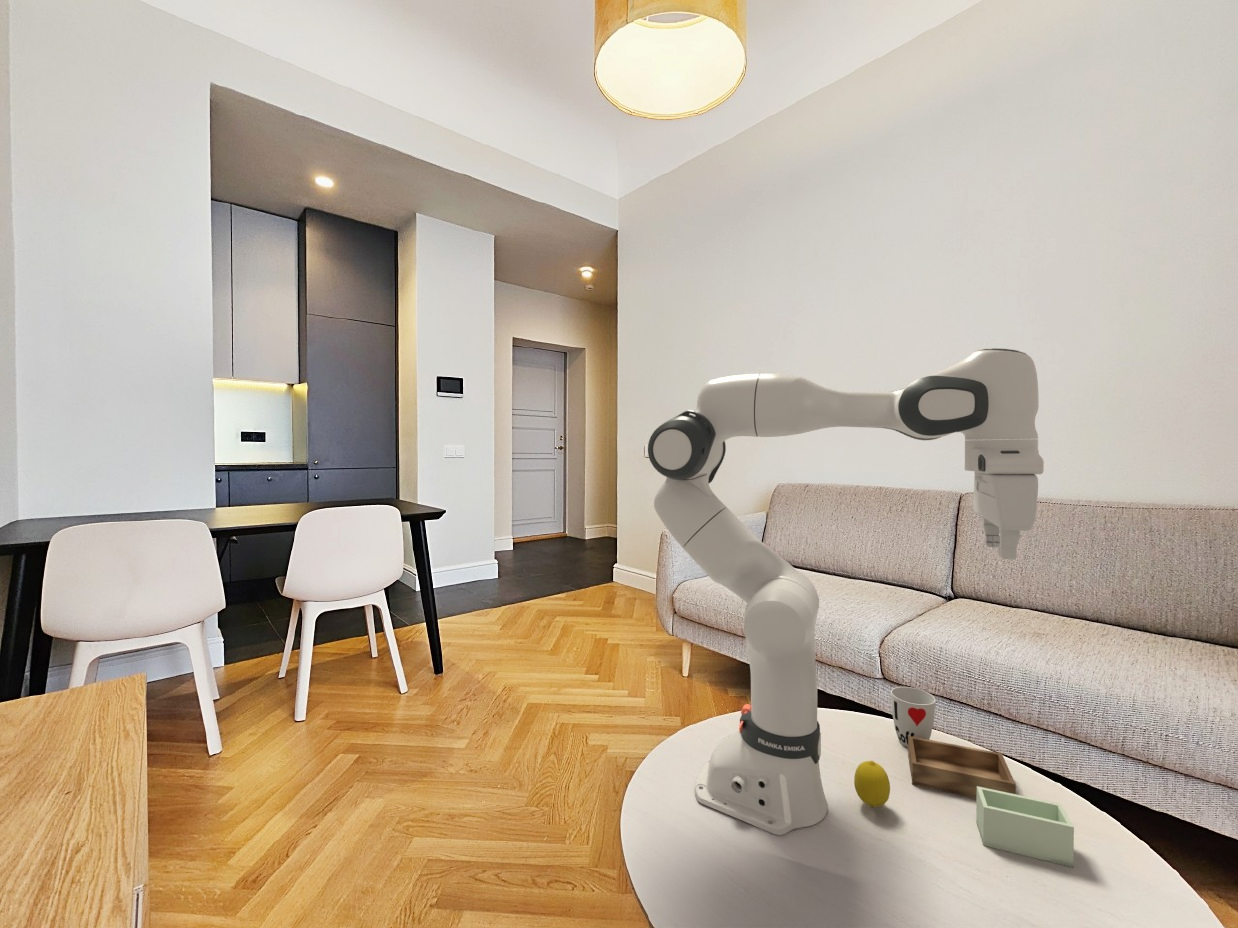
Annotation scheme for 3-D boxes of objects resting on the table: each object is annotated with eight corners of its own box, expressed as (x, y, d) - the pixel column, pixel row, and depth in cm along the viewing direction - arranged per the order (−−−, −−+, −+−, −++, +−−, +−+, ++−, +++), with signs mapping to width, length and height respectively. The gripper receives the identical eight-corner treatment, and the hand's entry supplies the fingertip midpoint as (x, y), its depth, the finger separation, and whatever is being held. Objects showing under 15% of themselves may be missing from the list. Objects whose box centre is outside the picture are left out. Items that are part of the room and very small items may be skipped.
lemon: (854, 812, 90) (853, 766, 90) (854, 793, 95) (854, 748, 95) (890, 821, 87) (890, 774, 87) (889, 801, 92) (889, 756, 92)
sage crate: (983, 844, 82) (983, 806, 82) (976, 821, 87) (976, 785, 87) (1073, 867, 78) (1073, 827, 77) (1060, 841, 83) (1061, 803, 82)
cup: (884, 742, 111) (884, 695, 110) (899, 728, 116) (899, 682, 116) (927, 758, 105) (927, 708, 104) (940, 743, 110) (941, 695, 110)
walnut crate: (912, 784, 97) (912, 762, 97) (908, 755, 106) (908, 735, 106) (1015, 807, 91) (1015, 784, 90) (1001, 774, 100) (1001, 753, 99)
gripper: (963, 457, 90) (962, 539, 90) (989, 461, 71) (988, 564, 71) (1008, 457, 87) (1007, 541, 87) (1048, 461, 68) (1047, 568, 69)
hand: (999, 552), depth 79 cm, fingers open, 8 cm apart
